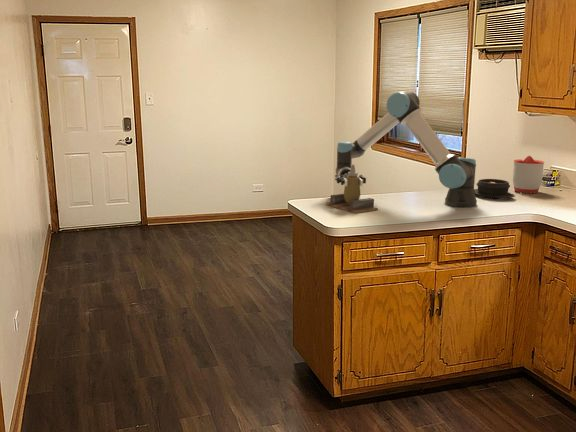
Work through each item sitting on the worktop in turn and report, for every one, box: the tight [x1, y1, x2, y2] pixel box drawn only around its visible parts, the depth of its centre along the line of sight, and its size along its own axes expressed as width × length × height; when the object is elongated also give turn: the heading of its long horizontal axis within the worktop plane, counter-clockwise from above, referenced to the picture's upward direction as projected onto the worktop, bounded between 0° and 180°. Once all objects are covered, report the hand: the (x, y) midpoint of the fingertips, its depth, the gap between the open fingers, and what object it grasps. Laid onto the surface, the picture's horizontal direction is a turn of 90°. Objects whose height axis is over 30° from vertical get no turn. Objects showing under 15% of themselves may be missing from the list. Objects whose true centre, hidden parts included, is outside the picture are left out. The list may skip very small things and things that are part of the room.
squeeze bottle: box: [343, 164, 361, 203], centre depth 298 cm, size 8×8×18 cm
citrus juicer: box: [512, 155, 545, 194], centre depth 343 cm, size 16×17×20 cm
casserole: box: [474, 178, 516, 200], centre depth 329 cm, size 25×19×8 cm
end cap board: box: [325, 193, 379, 214], centre depth 300 cm, size 22×14×5 cm, turn 33°
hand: (354, 183), depth 293 cm, fingers closed on squeeze bottle, 6 cm apart
